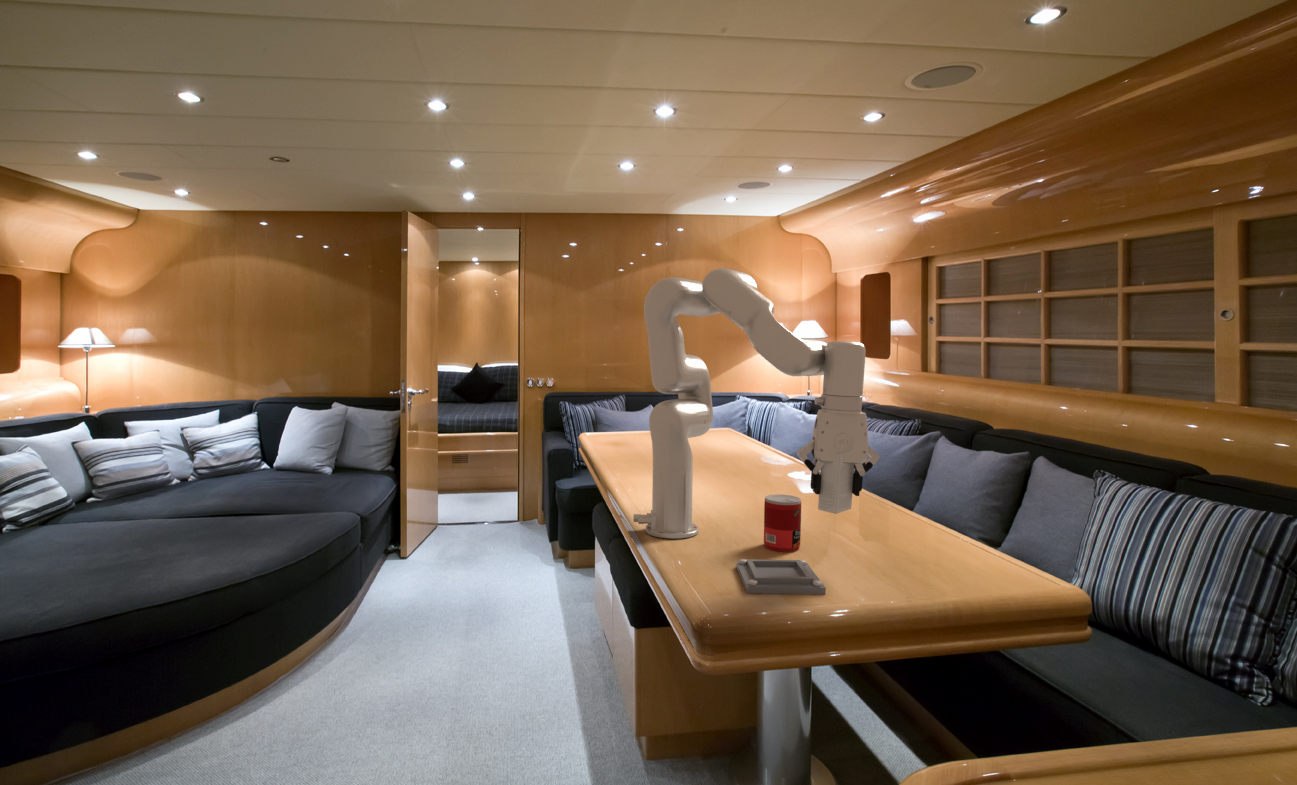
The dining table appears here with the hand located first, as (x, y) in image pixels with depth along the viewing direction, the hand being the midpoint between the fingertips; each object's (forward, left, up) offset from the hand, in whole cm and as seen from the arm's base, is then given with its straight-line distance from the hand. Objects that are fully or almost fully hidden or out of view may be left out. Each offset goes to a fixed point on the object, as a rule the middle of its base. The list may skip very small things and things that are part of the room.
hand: (835, 492), depth 127 cm
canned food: (-7, +14, -16) cm, 23 cm away
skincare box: (0, 0, -4) cm, 4 cm away
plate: (-12, -7, -15) cm, 21 cm away
